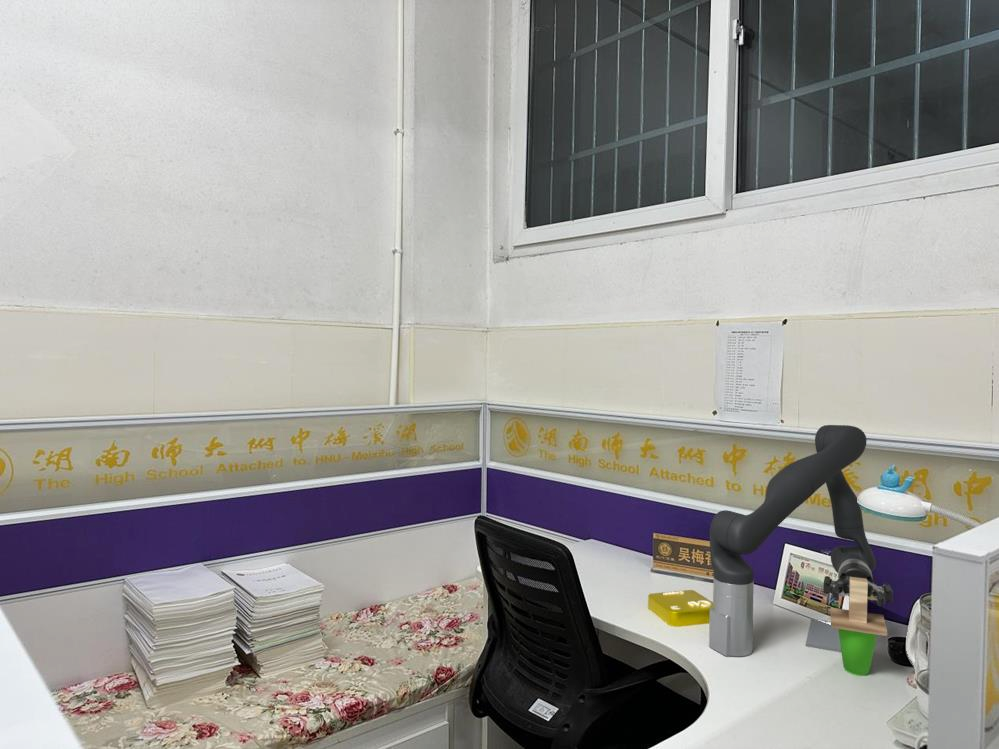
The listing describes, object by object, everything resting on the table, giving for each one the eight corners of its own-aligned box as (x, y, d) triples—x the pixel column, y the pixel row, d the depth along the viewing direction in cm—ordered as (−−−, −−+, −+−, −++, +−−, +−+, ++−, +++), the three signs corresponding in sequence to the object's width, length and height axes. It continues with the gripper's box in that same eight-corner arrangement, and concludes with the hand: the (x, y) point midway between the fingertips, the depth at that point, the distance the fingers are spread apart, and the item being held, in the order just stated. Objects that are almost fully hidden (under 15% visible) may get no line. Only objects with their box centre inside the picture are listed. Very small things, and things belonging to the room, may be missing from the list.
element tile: (692, 603, 203) (693, 587, 202) (722, 623, 188) (722, 605, 188) (645, 608, 199) (645, 591, 199) (671, 629, 184) (671, 611, 184)
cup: (884, 681, 155) (886, 632, 154) (840, 677, 156) (841, 628, 156) (871, 663, 163) (872, 617, 163) (829, 660, 165) (830, 613, 165)
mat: (865, 656, 167) (865, 654, 167) (805, 645, 173) (805, 643, 173) (865, 630, 183) (865, 627, 183) (811, 620, 189) (811, 618, 189)
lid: (887, 636, 152) (888, 591, 152) (830, 627, 157) (831, 583, 156) (883, 618, 162) (884, 576, 162) (830, 610, 167) (831, 569, 166)
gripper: (823, 558, 175) (823, 578, 160) (889, 566, 169) (895, 587, 155) (823, 588, 175) (823, 610, 161) (888, 597, 170) (894, 621, 155)
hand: (858, 599), depth 158 cm, fingers open, 8 cm apart
